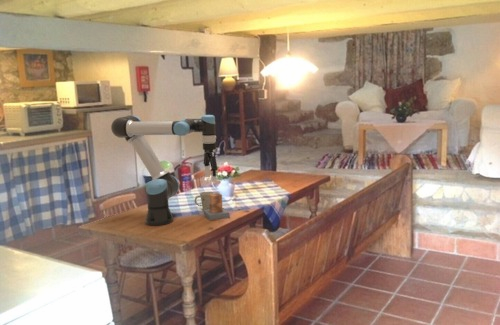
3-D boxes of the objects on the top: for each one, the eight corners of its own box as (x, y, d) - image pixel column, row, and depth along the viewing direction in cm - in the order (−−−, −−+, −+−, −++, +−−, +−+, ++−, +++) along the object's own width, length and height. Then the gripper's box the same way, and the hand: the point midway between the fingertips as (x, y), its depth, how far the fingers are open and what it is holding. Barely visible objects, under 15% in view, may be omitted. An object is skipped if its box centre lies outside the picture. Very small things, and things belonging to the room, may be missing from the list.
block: (212, 213, 270) (211, 196, 269) (209, 210, 276) (208, 194, 274) (222, 211, 272) (221, 194, 271) (219, 209, 278) (218, 192, 276)
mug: (212, 210, 286) (211, 194, 284) (192, 210, 289) (191, 194, 287) (216, 207, 294) (215, 191, 293) (196, 206, 297) (195, 191, 295)
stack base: (209, 220, 267) (209, 215, 267) (203, 215, 278) (203, 210, 278) (229, 217, 271) (229, 212, 271) (223, 212, 282) (223, 207, 282)
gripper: (222, 144, 257) (223, 183, 261) (209, 139, 280) (211, 174, 284) (208, 145, 255) (210, 184, 259) (197, 140, 278) (198, 175, 282)
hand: (210, 179), depth 271 cm, fingers open, 13 cm apart
